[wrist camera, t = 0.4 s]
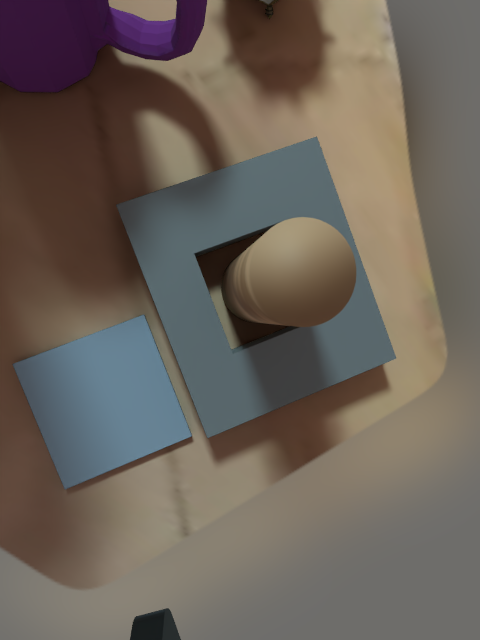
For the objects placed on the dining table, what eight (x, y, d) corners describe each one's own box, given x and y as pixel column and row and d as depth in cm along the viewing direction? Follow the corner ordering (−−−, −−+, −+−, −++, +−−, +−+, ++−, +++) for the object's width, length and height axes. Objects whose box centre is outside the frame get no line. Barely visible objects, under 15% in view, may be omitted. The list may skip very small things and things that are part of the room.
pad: (15, 363, 30) (12, 364, 30) (144, 314, 32) (143, 314, 31) (66, 486, 31) (64, 489, 30) (191, 434, 32) (191, 436, 32)
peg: (210, 266, 32) (233, 238, 20) (275, 242, 33) (334, 202, 21) (236, 332, 32) (273, 343, 21) (299, 307, 33) (371, 304, 21)
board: (120, 213, 31) (116, 204, 29) (305, 149, 33) (316, 136, 31) (204, 428, 32) (207, 438, 30) (379, 355, 34) (396, 358, 32)
